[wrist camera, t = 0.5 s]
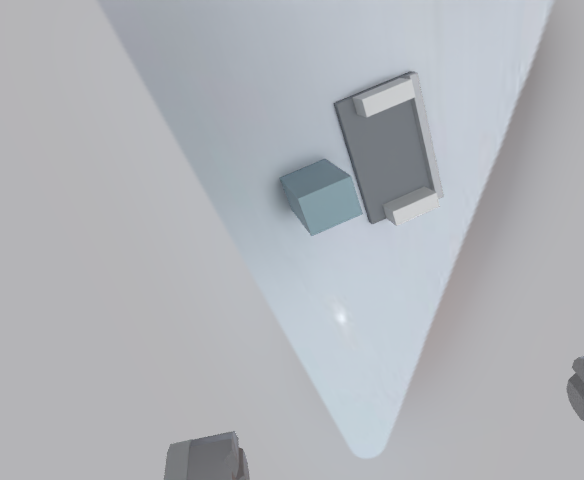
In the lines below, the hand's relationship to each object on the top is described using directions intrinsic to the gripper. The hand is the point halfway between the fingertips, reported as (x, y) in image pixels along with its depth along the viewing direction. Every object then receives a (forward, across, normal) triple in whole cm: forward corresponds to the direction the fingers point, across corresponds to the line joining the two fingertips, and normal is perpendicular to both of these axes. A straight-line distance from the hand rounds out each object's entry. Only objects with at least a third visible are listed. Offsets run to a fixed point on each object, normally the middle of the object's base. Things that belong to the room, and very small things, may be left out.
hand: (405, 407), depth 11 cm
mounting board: (+44, -12, +15) cm, 49 cm away
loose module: (+43, -2, +17) cm, 46 cm away
